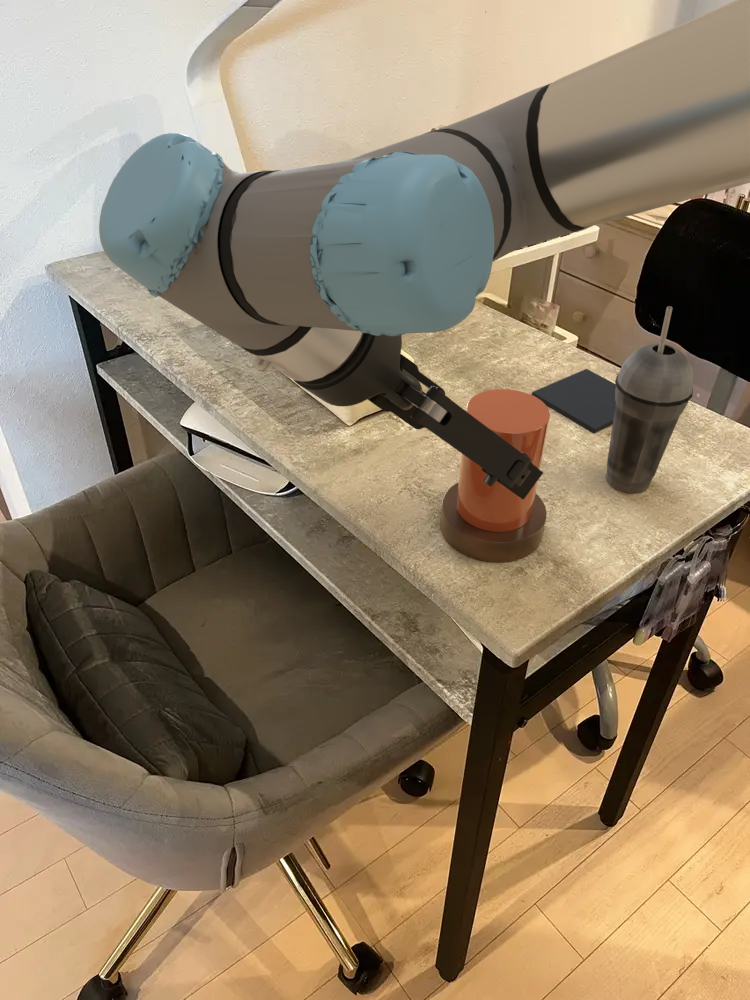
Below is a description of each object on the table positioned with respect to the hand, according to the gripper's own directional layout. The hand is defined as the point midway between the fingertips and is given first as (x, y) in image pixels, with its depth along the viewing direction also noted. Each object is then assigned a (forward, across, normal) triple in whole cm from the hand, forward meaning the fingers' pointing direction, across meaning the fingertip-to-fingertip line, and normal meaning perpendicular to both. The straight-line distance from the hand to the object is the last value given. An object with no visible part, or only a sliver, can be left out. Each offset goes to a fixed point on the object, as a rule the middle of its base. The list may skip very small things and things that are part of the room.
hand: (473, 444), depth 66 cm
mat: (+29, -10, +13) cm, 33 cm away
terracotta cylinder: (+9, 0, -4) cm, 10 cm away
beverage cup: (+23, +3, +7) cm, 24 cm away
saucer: (+11, 0, -5) cm, 12 cm away
